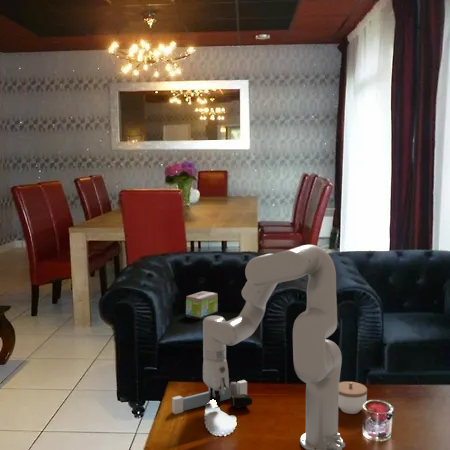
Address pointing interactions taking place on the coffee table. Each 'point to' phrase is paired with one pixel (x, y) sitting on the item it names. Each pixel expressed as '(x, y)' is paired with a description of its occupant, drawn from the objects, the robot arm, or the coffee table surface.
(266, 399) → the coffee table surface
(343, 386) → the lidded jar
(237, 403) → the tape measure
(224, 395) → the long grey bar
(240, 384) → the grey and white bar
